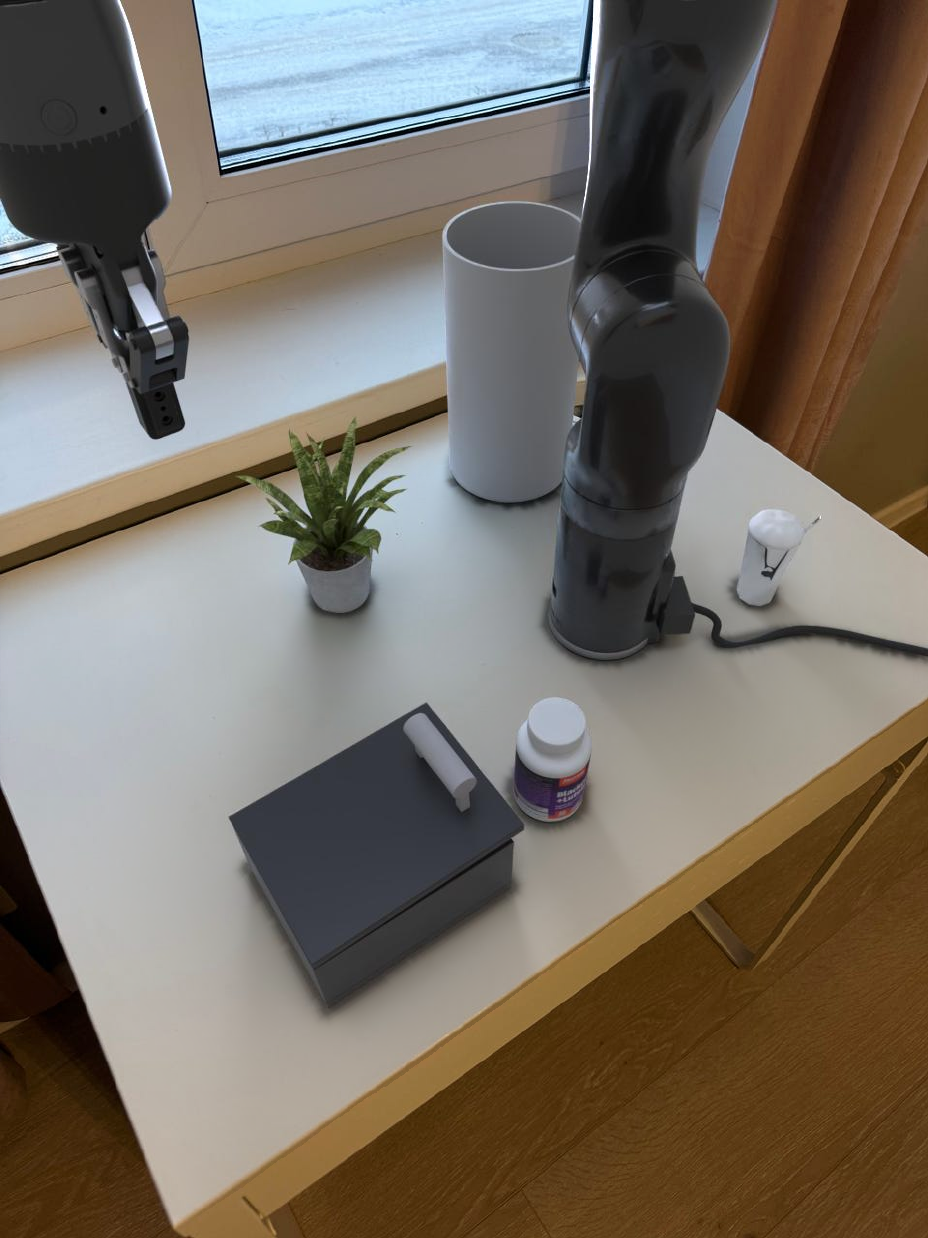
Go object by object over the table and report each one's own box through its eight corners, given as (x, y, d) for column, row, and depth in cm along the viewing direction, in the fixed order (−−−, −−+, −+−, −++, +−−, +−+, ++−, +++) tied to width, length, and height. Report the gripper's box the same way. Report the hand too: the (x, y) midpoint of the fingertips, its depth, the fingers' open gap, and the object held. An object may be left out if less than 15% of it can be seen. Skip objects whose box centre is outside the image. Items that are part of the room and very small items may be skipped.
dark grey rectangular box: (422, 769, 70) (418, 718, 65) (511, 887, 64) (514, 841, 59) (250, 868, 65) (230, 822, 60) (327, 1008, 58) (313, 970, 53)
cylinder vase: (570, 434, 98) (592, 204, 79) (565, 510, 90) (588, 274, 71) (457, 427, 99) (452, 198, 80) (442, 502, 91) (432, 267, 72)
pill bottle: (562, 836, 66) (573, 766, 59) (500, 802, 68) (502, 731, 61) (595, 782, 69) (609, 709, 62) (534, 751, 71) (541, 676, 64)
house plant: (461, 579, 84) (458, 438, 71) (369, 677, 76) (349, 538, 64) (343, 522, 89) (321, 381, 77) (246, 608, 82) (205, 468, 69)
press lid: (427, 707, 65) (421, 668, 61) (524, 830, 58) (524, 794, 55) (230, 822, 60) (211, 786, 56) (313, 970, 53) (298, 941, 49)
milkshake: (790, 616, 80) (822, 535, 73) (729, 608, 81) (755, 527, 73) (788, 580, 83) (819, 498, 76) (729, 572, 84) (754, 491, 76)
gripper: (200, 131, 37) (273, 465, 50) (93, 45, 44) (181, 355, 57) (15, 177, 34) (143, 517, 47) (-67, 77, 41) (64, 395, 54)
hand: (164, 428), depth 52 cm, fingers closed
